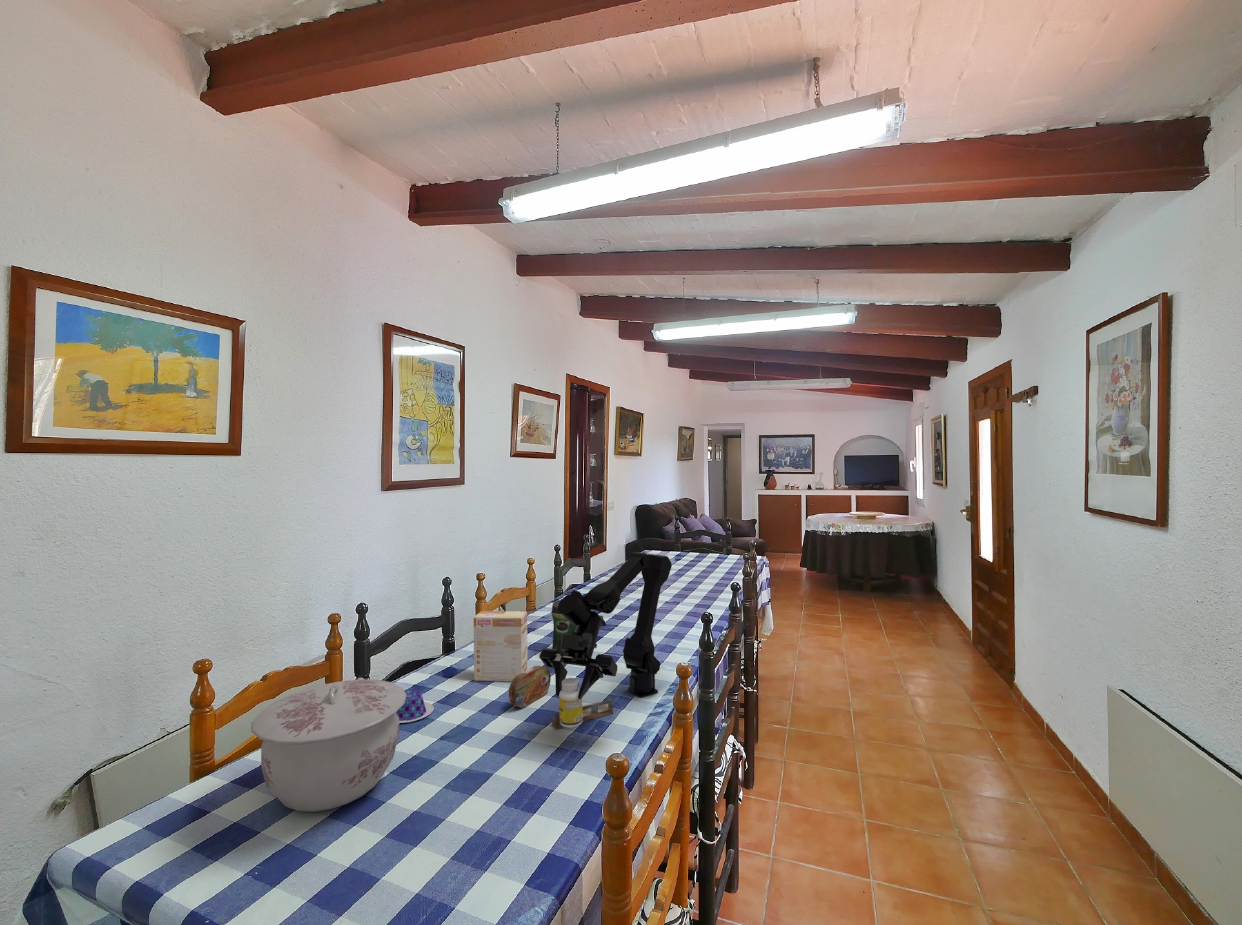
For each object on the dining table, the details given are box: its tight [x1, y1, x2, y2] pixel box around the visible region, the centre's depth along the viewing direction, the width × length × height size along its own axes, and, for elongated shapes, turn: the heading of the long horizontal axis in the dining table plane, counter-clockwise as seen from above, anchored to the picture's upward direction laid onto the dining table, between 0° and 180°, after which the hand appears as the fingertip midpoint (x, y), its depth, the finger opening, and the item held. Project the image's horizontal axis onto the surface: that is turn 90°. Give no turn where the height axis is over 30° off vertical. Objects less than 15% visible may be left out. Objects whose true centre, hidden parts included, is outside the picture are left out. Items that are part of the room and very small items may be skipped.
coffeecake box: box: [473, 610, 529, 683], centre depth 163 cm, size 15×7×20 cm, turn 84°
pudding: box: [396, 690, 435, 724], centre depth 140 cm, size 12×12×5 cm
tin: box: [508, 665, 552, 709], centre depth 147 cm, size 15×3×8 cm, turn 149°
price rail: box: [551, 698, 614, 730], centre depth 136 cm, size 16×3×4 cm, turn 120°
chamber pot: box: [250, 677, 407, 813], centre depth 107 cm, size 28×28×21 cm
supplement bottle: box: [558, 677, 583, 729], centre depth 125 cm, size 5×5×10 cm
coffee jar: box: [551, 599, 577, 656], centre depth 182 cm, size 10×8×19 cm
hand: (568, 697), depth 123 cm, fingers closed on supplement bottle, 5 cm apart
